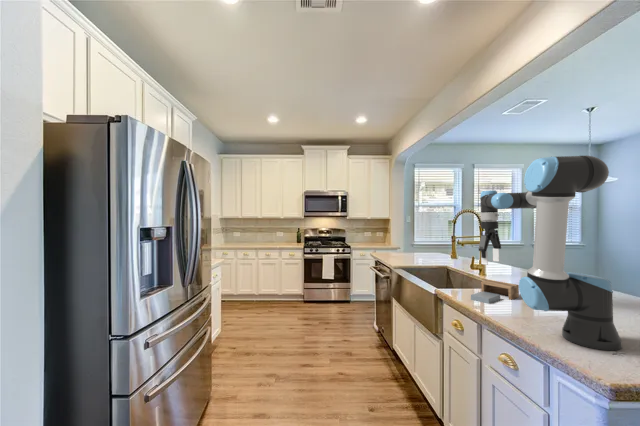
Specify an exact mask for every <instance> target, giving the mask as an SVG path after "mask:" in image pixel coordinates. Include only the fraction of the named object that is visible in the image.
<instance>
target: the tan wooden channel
mask: <svg viewBox="0 0 640 426" xmlns="http://www.w3.org/2000/svg"><path fill="white" fill-rule="evenodd" d="M480 283H481V292H482V291H484V292H489V293H494V294H499V295H503V296H508V300H509V301H512V300H516V299H518V298H520V290H519V284H516V283H509V282H505V281H504V282H503V281H499V280H498V281H497V280H492V279H487V280H483V281H481V282H480Z"/></svg>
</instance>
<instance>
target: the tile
mask: <svg viewBox="0 0 640 426" xmlns="http://www.w3.org/2000/svg"><path fill="white" fill-rule="evenodd" d="M470 300H471V301H475V302H477V303H478V302H479V303H482V304H488V305H489V304H492V303H495V302H498V301H500V300H501V294H498V293H493V292H484V291H482V290H481V291H480V292H476V293H473V294H470Z"/></svg>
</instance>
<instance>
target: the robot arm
mask: <svg viewBox="0 0 640 426" xmlns="http://www.w3.org/2000/svg"><path fill="white" fill-rule="evenodd" d="M609 173H610V171H609V168H608V165H607V164H606V162H605V161H603V160H602V159H601V158H598V157H596V156H592V155H568V156H562V155H561V156H546V157H540V158H536V159H534V160H533V161H532V162H531V163H530V165H529V166H528V167H527V169H526V171H525V173H524V174H525V175H524V180H523V181H524V183H523V184H524V185H525V186H524V187H525V189H526V190H527V191H524V192H498V191H497V190H496V189H494V190H492V189H491V190H482V191H481V192H480V196H479V199H480V228H481V229H482V230H481V232H480V240H479V243H478V252H480V259H481V260H480V261H481V262H480V264H481V265H486V266H487V265H488V266H489V263H488V262H489V261H488V260H489V259H488V258H489V257H488V247H489V245H490V243H491V244H492V247H493V248H492V261H493V262H497V263H499V262H500V250H501V249H502V243H501V241H500V240H501V239H500V236H499V221H498V220H499V216H500V215H499V210H513V209H514V210H515V209H533V210H535V209H536V210H535V224H534V225H535V227H534V242H533V260H532V267H530V268H528V269H527V270H526V271H527V275H526V276H523V277H521V278H520V279H519V281H518V285H519V295H520V296H521V298H522V301H524V303H525V304H526V306H528V308H530V309H532V310H535V311H543V312H548V311H549V312H567V317H566V319H565V321H564V324H563V325H562V326H563V327H562V329H561V332H562V333H561V335H562V338H564V339H565V340H566V341H569V342H571V343H574V344H576V345H579V346H582V347H586V348H590V349H594V350H595V349H596V350H600V351H601V350H602V351H618V350H621V349H622V347H623V345H622V344H623V343H622V342H623V341H622V339H621V336H620V335H619V332H618V330H617V328H616V326H615V323H614V310H613V309H614V307H613V306H614V305H613V300H614V299H613V293H614V291H613V288H612V287H613V286H612V282H611V281H610V279H608V278H605V277H603V276H602V277H601V276H597V275H592V274H586V273H581V272H573V271H572V272H569V271H568V272H566V271H565V260H566V247H567V245H566V243H567V233H568V218H569V204H570V201H572V200H573V199H575V198H576V193H587V192H589V191H593V190H596V189H597V188H599V187H601V186H603V184H605V183H606V181H607V180H608V178H609Z"/></svg>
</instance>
